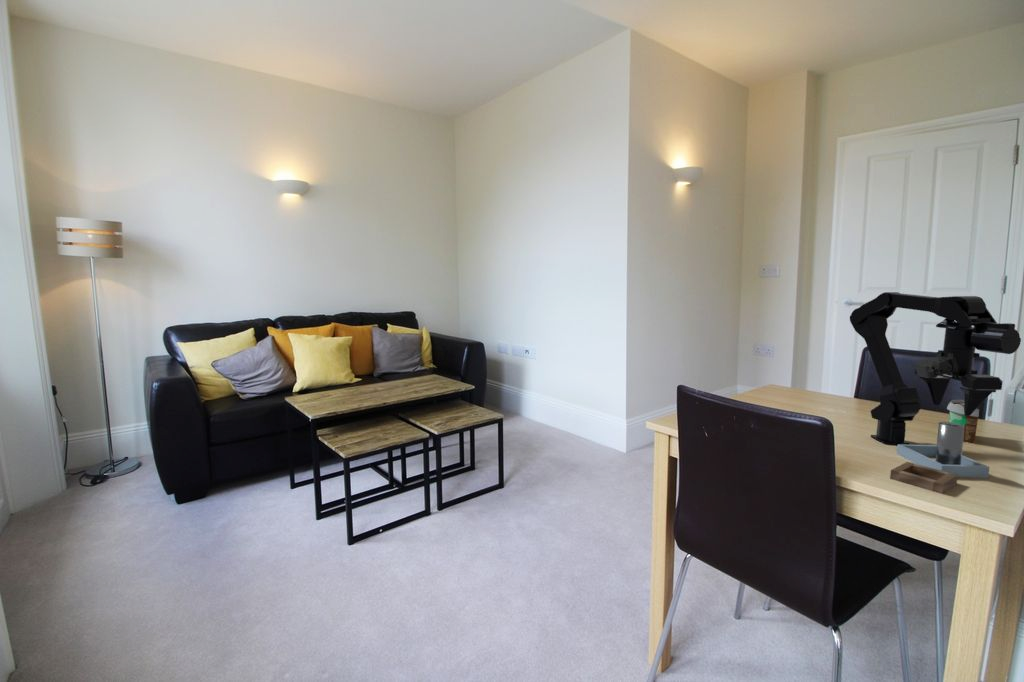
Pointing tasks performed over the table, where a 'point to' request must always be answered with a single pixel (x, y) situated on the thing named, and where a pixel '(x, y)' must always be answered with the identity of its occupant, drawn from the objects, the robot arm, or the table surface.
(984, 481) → the table surface
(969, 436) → the food container
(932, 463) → the tray
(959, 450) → the metallic grey cylinder
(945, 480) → the socket block
